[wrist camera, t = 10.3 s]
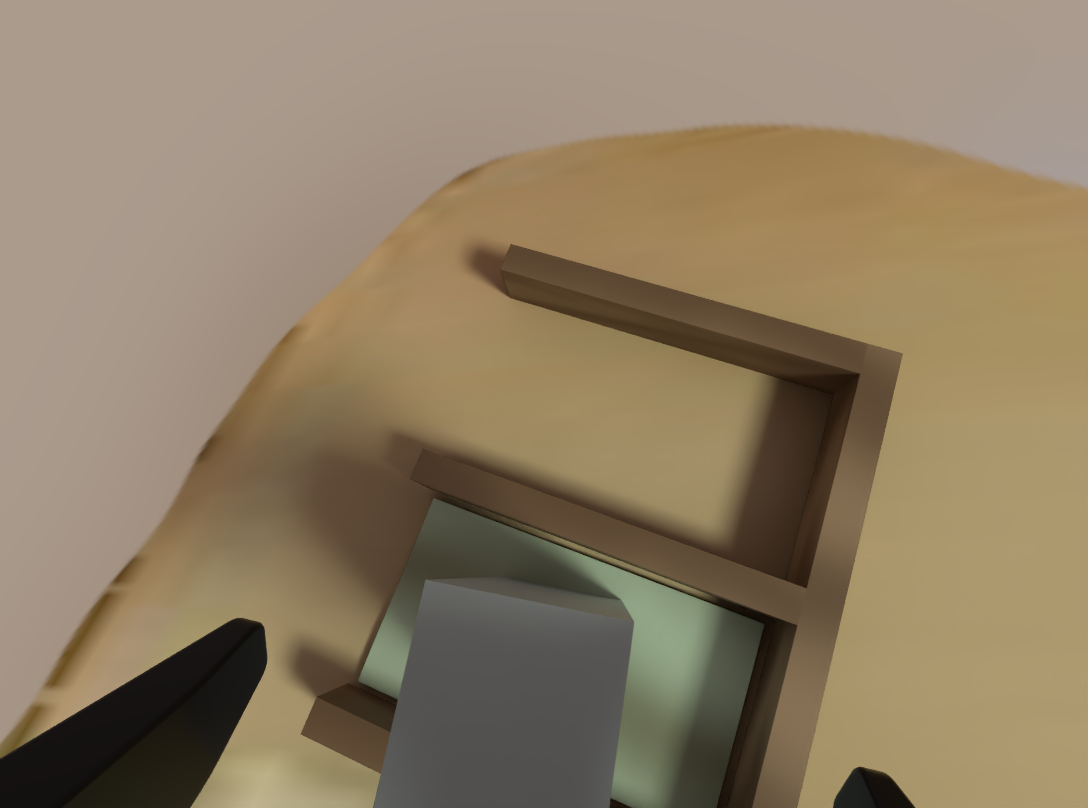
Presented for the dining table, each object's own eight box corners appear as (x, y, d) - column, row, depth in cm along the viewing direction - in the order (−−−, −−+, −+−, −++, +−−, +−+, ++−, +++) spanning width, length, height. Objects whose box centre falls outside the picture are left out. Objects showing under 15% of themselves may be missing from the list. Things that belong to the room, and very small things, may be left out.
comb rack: (741, 910, 19) (761, 961, 16) (334, 716, 21) (300, 734, 19) (872, 376, 23) (902, 353, 21) (519, 274, 26) (510, 244, 23)
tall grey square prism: (602, 733, 20) (599, 878, 11) (478, 704, 21) (371, 816, 11) (621, 600, 21) (634, 622, 12) (503, 576, 22) (425, 579, 12)
